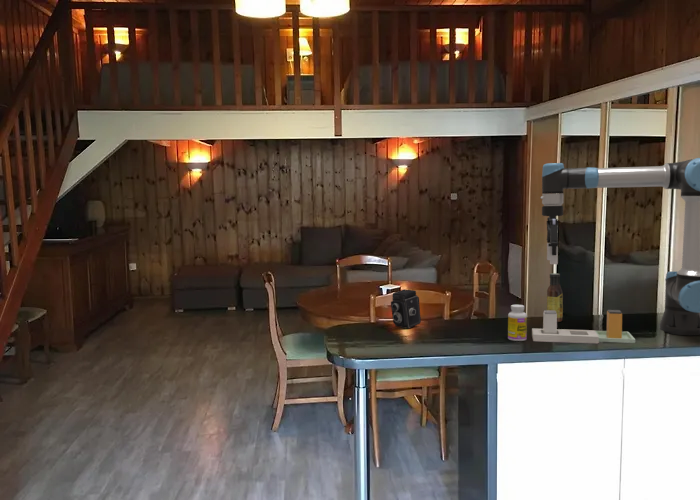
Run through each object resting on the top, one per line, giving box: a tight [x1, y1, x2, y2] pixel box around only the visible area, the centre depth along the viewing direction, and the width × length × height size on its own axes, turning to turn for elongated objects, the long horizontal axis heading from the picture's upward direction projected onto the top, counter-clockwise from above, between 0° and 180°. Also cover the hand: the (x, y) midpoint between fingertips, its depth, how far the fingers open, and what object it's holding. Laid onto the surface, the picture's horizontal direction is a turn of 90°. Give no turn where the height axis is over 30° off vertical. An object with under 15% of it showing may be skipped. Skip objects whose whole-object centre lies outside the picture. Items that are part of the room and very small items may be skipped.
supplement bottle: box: [507, 304, 528, 342], centre depth 223 cm, size 7×7×13 cm
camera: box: [390, 289, 422, 329], centre depth 248 cm, size 11×11×15 cm
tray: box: [595, 330, 636, 344], centre depth 221 cm, size 12×12×2 cm
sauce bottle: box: [546, 272, 564, 323], centre depth 253 cm, size 7×6×20 cm
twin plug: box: [542, 309, 558, 334], centre depth 222 cm, size 4×4×10 cm
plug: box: [606, 309, 623, 338], centre depth 220 cm, size 4×4×10 cm
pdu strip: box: [531, 327, 600, 344], centre depth 221 cm, size 22×10×3 cm, turn 76°
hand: (552, 262), depth 228 cm, fingers open, 13 cm apart
